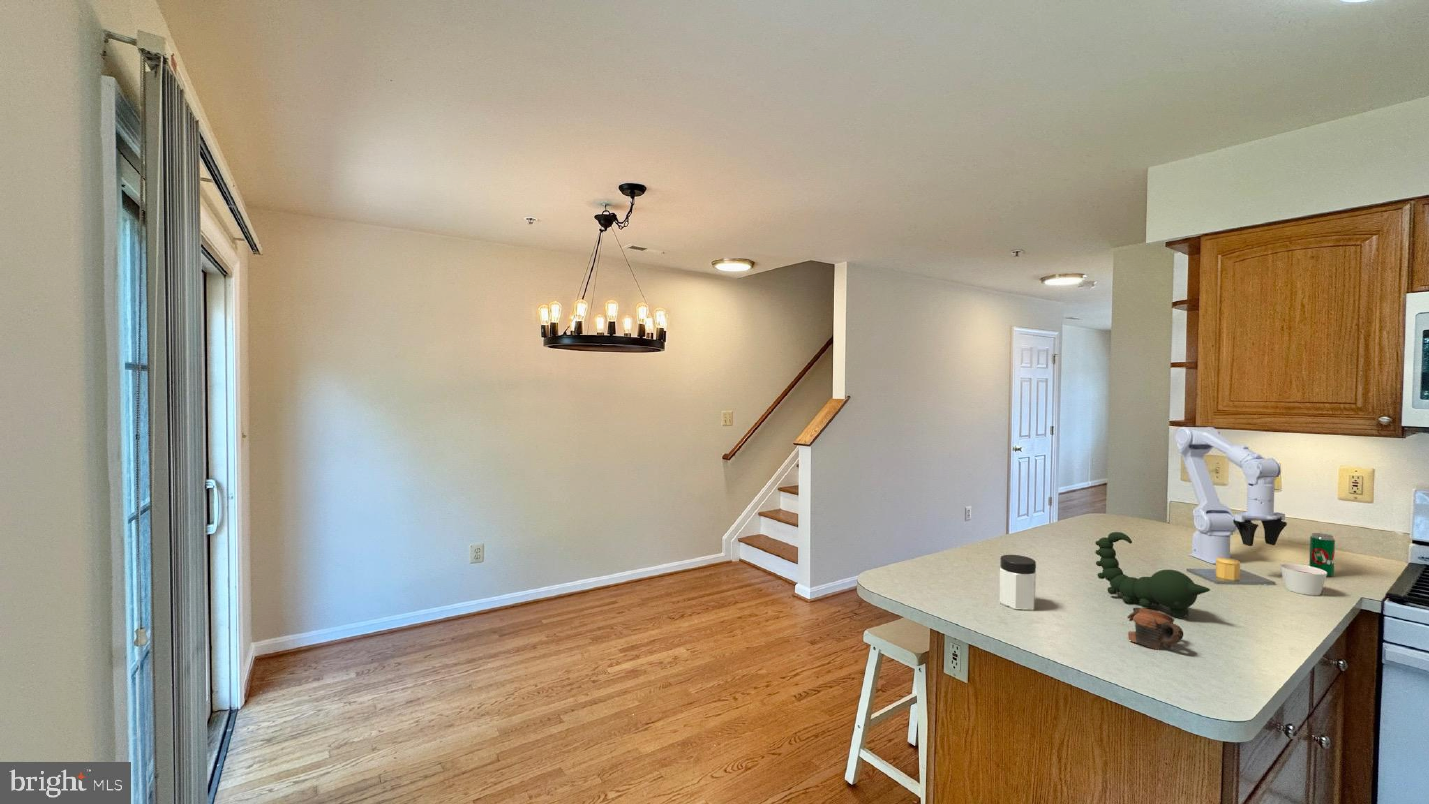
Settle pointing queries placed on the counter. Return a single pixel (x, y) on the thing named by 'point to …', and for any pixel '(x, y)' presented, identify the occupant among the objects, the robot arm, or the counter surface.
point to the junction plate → (1244, 579)
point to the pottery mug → (1154, 628)
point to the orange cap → (1228, 568)
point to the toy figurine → (1147, 582)
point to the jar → (1017, 581)
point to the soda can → (1322, 552)
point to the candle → (1303, 578)
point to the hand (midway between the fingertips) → (1259, 544)
